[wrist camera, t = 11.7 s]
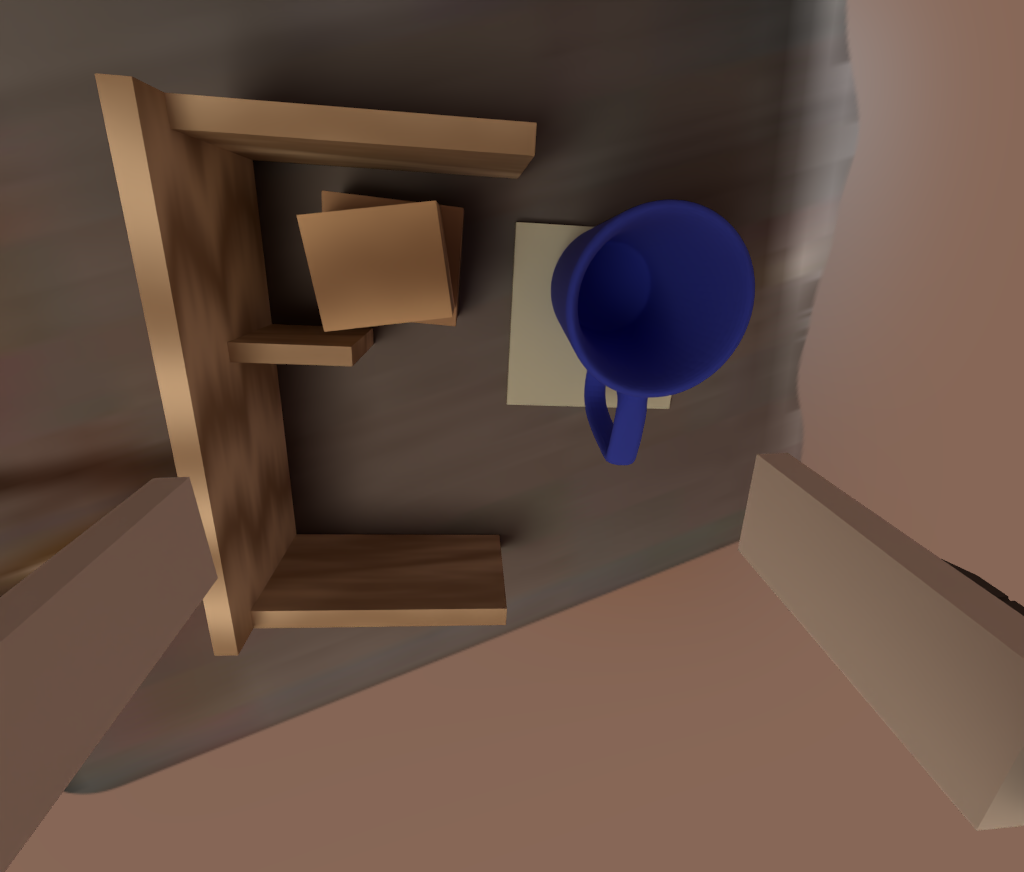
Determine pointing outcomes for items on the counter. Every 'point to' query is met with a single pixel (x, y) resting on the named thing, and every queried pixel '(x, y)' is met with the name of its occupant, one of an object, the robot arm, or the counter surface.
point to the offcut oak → (378, 265)
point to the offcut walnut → (452, 231)
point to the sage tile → (545, 326)
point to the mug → (651, 310)
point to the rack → (277, 350)
